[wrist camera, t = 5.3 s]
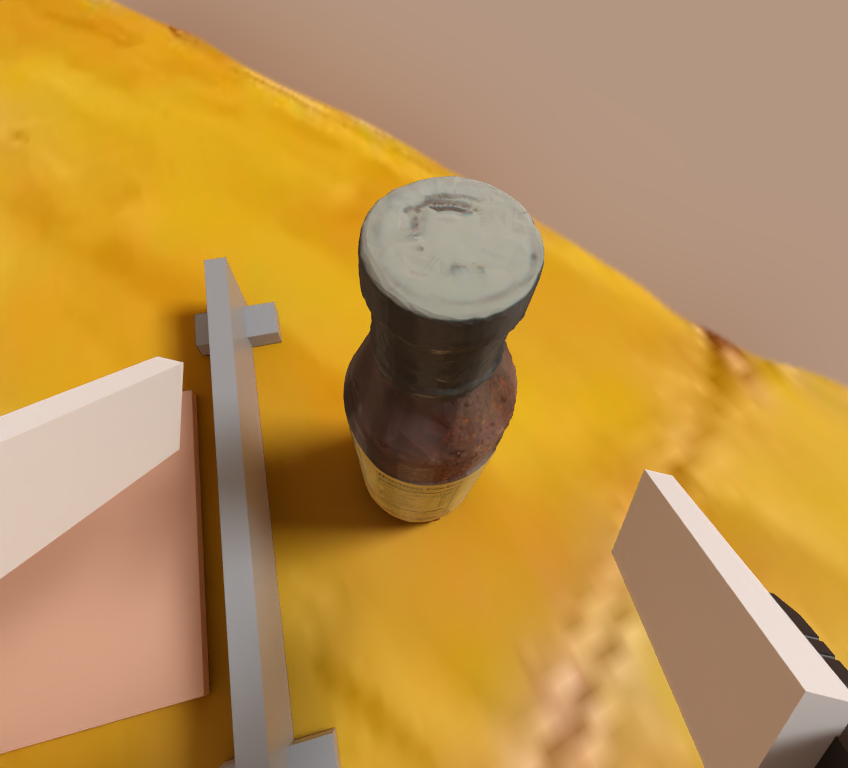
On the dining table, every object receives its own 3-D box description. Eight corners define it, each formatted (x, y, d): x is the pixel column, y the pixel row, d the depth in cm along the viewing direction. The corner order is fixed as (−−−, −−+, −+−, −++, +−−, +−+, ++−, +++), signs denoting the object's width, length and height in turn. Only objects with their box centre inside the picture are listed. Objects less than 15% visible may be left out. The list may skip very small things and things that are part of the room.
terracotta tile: (196, 395, 29) (191, 389, 29) (209, 693, 23) (203, 695, 22) (-103, 450, 27) (-117, 445, 26) (-190, 807, 20) (-211, 814, 19)
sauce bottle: (400, 407, 30) (415, 91, 12) (488, 458, 29) (646, 191, 11) (339, 495, 27) (244, 255, 9) (433, 556, 26) (527, 411, 8)
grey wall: (276, 303, 33) (258, 252, 28) (347, 813, 21) (335, 864, 16) (200, 315, 32) (169, 264, 27) (229, 853, 20) (183, 918, 16)
